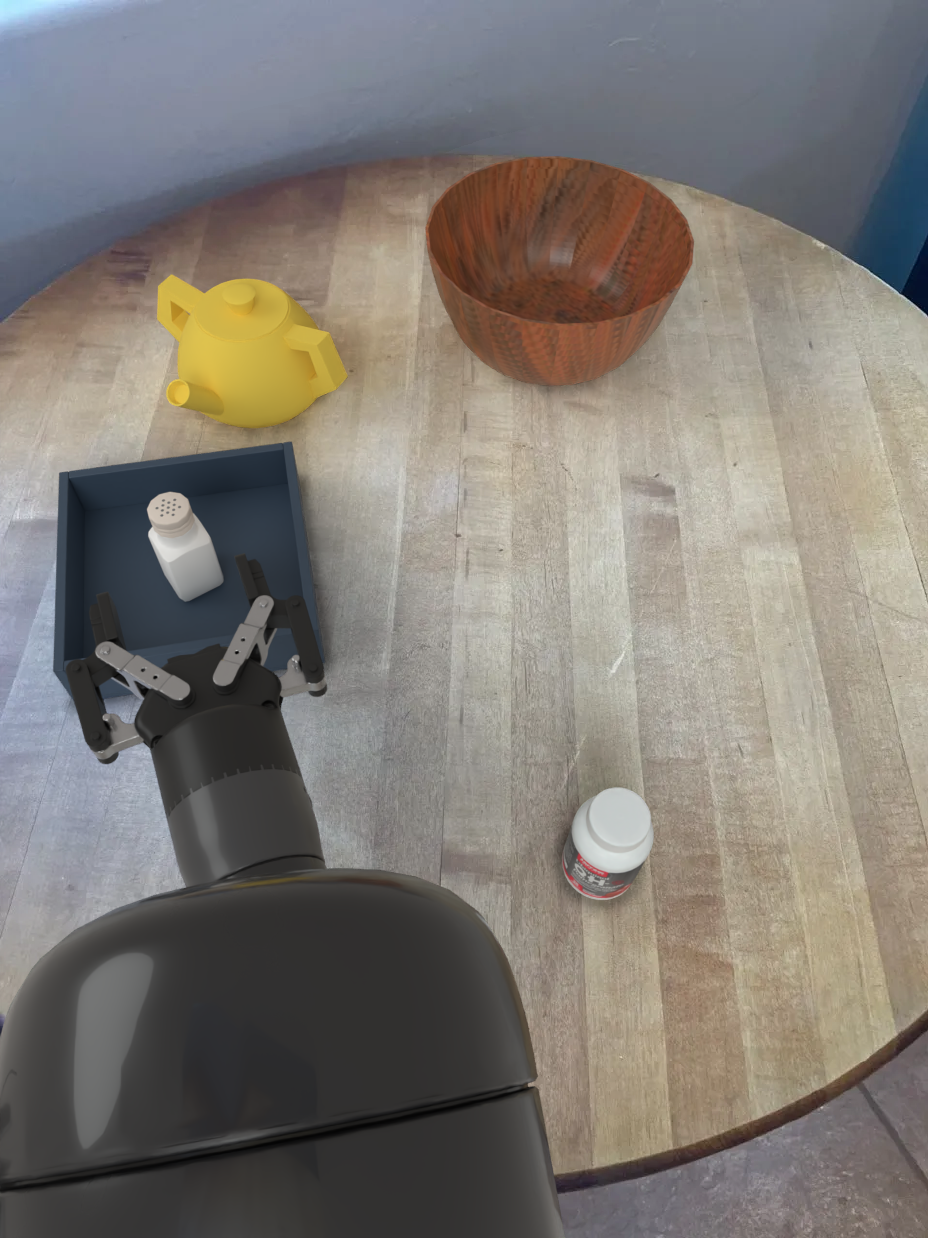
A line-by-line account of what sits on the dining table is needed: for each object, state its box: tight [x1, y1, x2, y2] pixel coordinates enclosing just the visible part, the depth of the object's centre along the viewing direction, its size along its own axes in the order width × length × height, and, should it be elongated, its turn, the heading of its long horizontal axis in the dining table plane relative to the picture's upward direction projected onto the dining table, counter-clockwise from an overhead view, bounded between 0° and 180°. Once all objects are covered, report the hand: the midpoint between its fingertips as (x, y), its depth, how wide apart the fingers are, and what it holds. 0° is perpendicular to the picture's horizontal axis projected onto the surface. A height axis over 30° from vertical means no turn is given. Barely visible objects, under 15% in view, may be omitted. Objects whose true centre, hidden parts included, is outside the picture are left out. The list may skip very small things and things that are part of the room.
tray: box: [52, 441, 326, 702], centre depth 79 cm, size 20×20×5 cm
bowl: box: [424, 155, 695, 387], centre depth 94 cm, size 25×25×11 cm
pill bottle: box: [561, 786, 655, 901], centre depth 65 cm, size 5×5×10 cm
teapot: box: [156, 273, 349, 429], centre depth 88 cm, size 20×18×11 cm
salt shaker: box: [147, 492, 224, 602], centre depth 77 cm, size 4×4×10 cm
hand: (174, 580), depth 60 cm, fingers open, 8 cm apart
